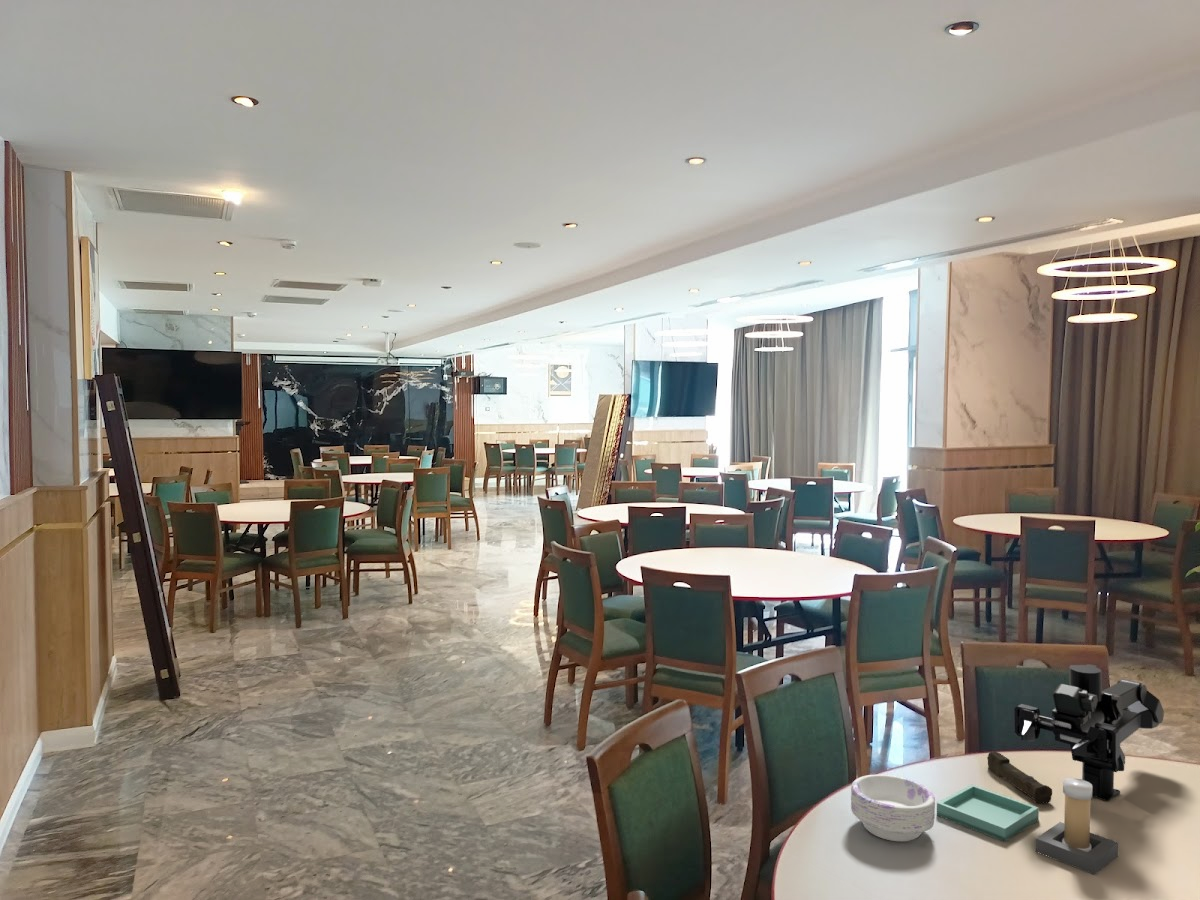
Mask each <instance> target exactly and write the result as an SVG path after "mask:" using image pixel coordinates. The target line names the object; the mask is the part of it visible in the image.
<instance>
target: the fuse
mask: <svg viewBox="0 0 1200 900" xmlns="http://www.w3.org/2000/svg"><path fill="white" fill-rule="evenodd" d="M1062 793H1063V794H1064V822H1063V823H1064V838H1063V839H1062V843H1064V844H1067V845H1069V846H1072V847H1075V848H1077V849H1080V850H1083V851H1086V852H1089V851H1090V850H1091V847H1092V846H1091V844H1090V833H1091V829H1090V828H1091V799H1093V796H1092V784H1091V783H1089V782H1087V781H1085V780H1082V778H1077V777H1076V778H1075V777H1066V778H1064V779H1063V780H1062Z"/></svg>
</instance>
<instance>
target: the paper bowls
mask: <svg viewBox="0 0 1200 900" xmlns="http://www.w3.org/2000/svg"><path fill="white" fill-rule="evenodd" d="M850 789H851V794H850V808H851V809H850V810H851V812H852V815H854V816H855V817H856V818H857V819H858V820H860V822H862V825H863V826H864V828H865V829H866V830H867V831H868V832H869V833H870V834H872V835H873V836H876V837H877V838H881V839H883V840H887V841H889V842H890V841H891V842H909V841H914V840H916V839H917V838H919V836H920V835H921V834H922V833H925V832H927V831H929V830H931V829H932V828H933V827H934V824H935V816H936V814H935V810H936V798H935V795H934V793H933V792H932V791H931V790H930V789H929V788H927V787H926V786H925V785H923V784H921V783H919V782H917V781H914V780H911V779H908V778H905V777H901V776H897V775H896V776H895V775H891V774H889V775H888V774H868V775H867V774H866V775H863V776H859V777H858V778H855V780H854V781H852V783H851V787H850Z"/></svg>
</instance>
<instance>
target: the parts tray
mask: <svg viewBox="0 0 1200 900" xmlns="http://www.w3.org/2000/svg"><path fill="white" fill-rule="evenodd" d="M1039 809H1040V807H1037V806H1035V805H1032V804H1029V803H1026V802H1023V801H1020V800H1018V799H1015V798H1012V797H1008V796H1006V795H1003V794H1001V793H997V792H994V791H992V790H989V789H986V788H983V787H980V786H978V785H974V784H970V785H969V784H968V786H966V787H964V788H962V789H960V790H958V791H957V792H954V793H953V794H951V795H949V796H947V797H946V798H944V799H942V800H940V801H938V802H936V816H938V817H940V818H943V819H944V820H948V821H950V822H953V823H956V824H958V825H960V826H963V827H966V828H968V829H971V830H974V831H976V832H978V833H981V834H984V835H986V836H989V837H991V838H993V839H996V840H999V841H1001V842H1004V843H1005V842H1007V841H1008V840H1010V839H1013V837H1015V836H1016V835H1018V834H1020V833H1021V832H1023V831H1024V830H1025V829H1027V828H1028V827H1031V825H1033V824H1035V823H1037V822H1038V821H1039V813H1040V812H1039ZM1037 820H1038V821H1037Z"/></svg>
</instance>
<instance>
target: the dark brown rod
mask: <svg viewBox="0 0 1200 900" xmlns="http://www.w3.org/2000/svg"><path fill="white" fill-rule="evenodd" d="M986 758H987V759H986V760H987V765H988V766H987V767H988V768H989V770H990V771H991V772H992V773H993V774H994V775H995V776H996V777H998V778H1000V777H1001V779H1002V778H1003V779H1005V781H1008V782H1009V783H1010V784H1011V785H1014V787H1016V788H1018V789H1019V790H1020V791H1022V792H1023V793H1025V794H1026V795H1028V796H1029V797H1030V798H1031V799H1033V801H1034V803H1035V804H1036V805H1045V804H1046V805H1047V804H1049V803H1050V802H1051V801H1052V797H1053V789H1052V788H1051V787H1050V786H1048V785H1046V784H1045V785H1044V784H1043V783H1041V782H1039V781H1038V780H1037V779H1035V778H1034V776H1031V775H1029V774H1027V773H1026V772H1023V771H1022V770H1021V769H1019V768H1017V767H1016V766H1014V765H1013V764H1012V763H1010V759H1009V758H1008V757H1007V756H1004V755H1003V754H1002V753H1000V752H998V751H995V750H992V751H990V752H988V755H987V757H986Z"/></svg>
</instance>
